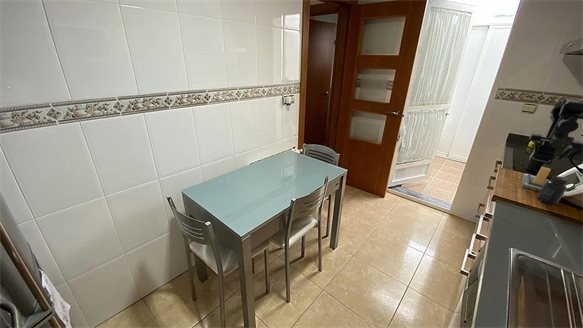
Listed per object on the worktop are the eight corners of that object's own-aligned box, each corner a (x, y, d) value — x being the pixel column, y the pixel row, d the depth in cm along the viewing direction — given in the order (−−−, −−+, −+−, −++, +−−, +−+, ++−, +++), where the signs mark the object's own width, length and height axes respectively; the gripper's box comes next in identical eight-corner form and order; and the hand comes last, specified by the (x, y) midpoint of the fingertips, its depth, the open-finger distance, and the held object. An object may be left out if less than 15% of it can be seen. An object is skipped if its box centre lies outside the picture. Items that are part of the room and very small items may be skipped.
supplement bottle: (561, 206, 105) (576, 183, 99) (543, 203, 106) (557, 181, 101) (549, 197, 111) (563, 175, 106) (532, 195, 112) (545, 173, 107)
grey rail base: (522, 175, 130) (524, 171, 129) (547, 182, 124) (549, 178, 123) (521, 186, 119) (524, 182, 118) (549, 194, 113) (552, 189, 112)
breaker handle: (530, 181, 121) (539, 165, 116) (542, 185, 118) (552, 168, 114) (530, 184, 118) (540, 168, 114) (542, 187, 116) (552, 171, 111)
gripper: (537, 126, 115) (522, 155, 122) (594, 136, 104) (574, 167, 111) (536, 122, 123) (522, 150, 130) (590, 130, 112) (571, 160, 119)
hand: (546, 156), depth 122 cm, fingers open, 9 cm apart
